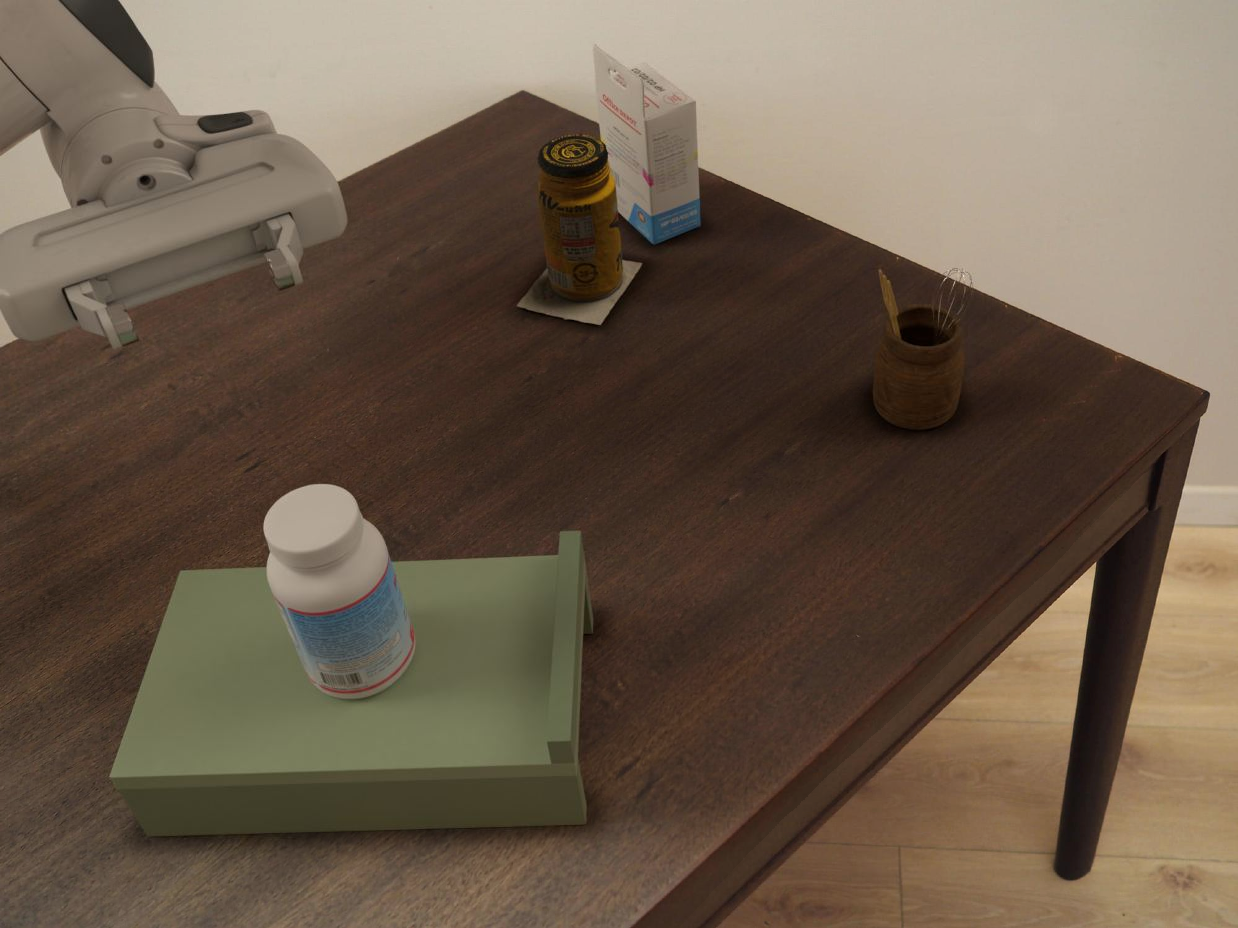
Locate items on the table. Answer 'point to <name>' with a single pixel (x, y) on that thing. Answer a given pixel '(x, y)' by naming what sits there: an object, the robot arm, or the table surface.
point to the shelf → (366, 709)
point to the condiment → (578, 233)
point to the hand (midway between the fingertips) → (207, 306)
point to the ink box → (649, 147)
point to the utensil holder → (919, 362)
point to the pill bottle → (337, 592)
